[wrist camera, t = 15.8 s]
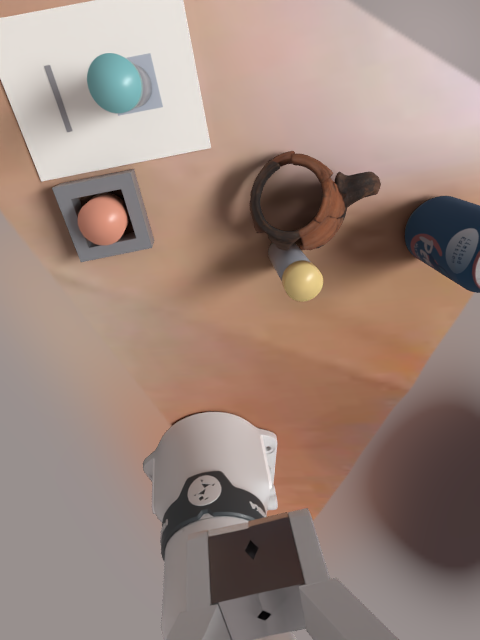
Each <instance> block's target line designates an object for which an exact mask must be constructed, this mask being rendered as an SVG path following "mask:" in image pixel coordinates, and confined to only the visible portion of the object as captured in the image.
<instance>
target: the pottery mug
mask: <svg viewBox="0 0 480 640" xmlns="http://www.w3.org/2000/svg"><path fill="white" fill-rule="evenodd" d="M286 164H293V165H299V166H303V167H306V168H308V169H309V170H311V171H312V172H313V173H314V174H315V175H316V176H317V178H318V179H319V181H320V183H321V186H322V192H323V195H322V203H321V207H320V209H319V211H318V213H317V215H316V216H315V218H314V219H313V220H312V221H311V222H310V223H309V224H307V225H306V226H304V227H302V228H300V229H298V230H295V231H282V230H278V229H276V228H274V227H272V226H271V225H270V224H268V222H267V221H266V220H265V218H264V216H263V214H262V211H261V206H260V197H261V193H262V190H263V187H264V185H265V183H266V181H267V180H268V178H269V177H270V176H271V175H272V174H273V173H274V172H275V171H277V170H278V169H279V168H280V167H281V166H284V165H286ZM332 174H333V172H332V171H331V170H330V169H329V168H328V167H327V166H325V165H324V164H323V163H321V162H320V161H318V160H316V159H314V158H312V157H310V156H308V155H304V154H295V152H294V151H290V152H286V153H283V154H280V155H278V156H277V157H275V158H274V159H273V160H270V161H269V162H268V163H267V164H266V165H265V166H264V167H263V169H262V170H261V171H260V173H259V174H258V176H257V178H256V180H255V182H254V184H253V187H252V191H251V201H250V211H251V215H252V219H253V223H254V227H255V229H256V231H257V233H259V232H266V233H267V234H268V236H269V239H270V241H271V242H272V243H273V244H275V245H276V247H277V248H278V249H281V250H289V247H290V246H292V245H293V243H294V242H296V241H297V240H298V239H299V238H301V241H302V243H301V245H300V246H299V248H300V250H312V249H315V248H319V247H321V246H323V245H324V244H326V243H327V242H328V241H329V240H330V239H332V237H333V236H334V235H335V233H336V232H337V231H338V229H339V228H340V226H341V224H342V222H343V220H344V218H345V214H346V210H347V207H349V206H350V205H351V204H353V203H355V202H356V201H358V200H360V199H362V198H364V197H368V196H371V195H376V194H377V193H378V191H379V189H380V185H381V183H380V180H379V177H378V176H376V175H375V174H374V173H373V172H364V173H359V174H355V175H350V176H347V175H344V174H342V173H341V172H338V173H337V175H336V178H335V182H333V181H332V180H331V178H330V177H331V176H332Z"/></svg>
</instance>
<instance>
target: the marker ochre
mask: <svg viewBox="0 0 480 640" xmlns="http://www.w3.org/2000/svg"><path fill="white" fill-rule="evenodd" d="M268 256H269V259H270V261H271V262H272V264H273V266H274V268H275V270H276V272H277V273H278V275H279V277H280V279H281V281H282V284H283V287H284V288H285V290H286V292H287V294H288V295H289V297H291V298H292V299H293V300H296V301H301V302H303V301H308V300H311V299H313V298H314V297H316V296H317V295H318V294H319V292H320V291H321V289H322V286H323V277H322V274H321V273H320V271H319V270H318V269H317V268H316V266H315V265H314V264H312V263H311V262H310V261H309V260H308V258H307V257H306V256H305V255H304V253H303V252H302V251H301V250H300V248H299V247H298V246H297V245H296V243H295V242H294V243H293V245H292V246H290V247H289V250H281V249H278V248H277V247H276V245H275V244H273V243H271V245H270V247H269V249H268Z"/></svg>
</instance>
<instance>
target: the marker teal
mask: <svg viewBox="0 0 480 640" xmlns="http://www.w3.org/2000/svg"><path fill="white" fill-rule="evenodd" d="M87 84H88V89H89V91H90V94H91V96H92V97H93V99H94V100H95V102H96V103H97V104H98V105H99V106H100V107H101V108H103V109H104V110H106V111H108V112H111V113H124V112H128V111H130V110H132V109H134V108H137V107H140V106H143V105H144V104H146V103H147V102H148V100H149V99H150V97H151V94H152V83H151V79H150V77H149V75H148V74H147V72H146V71H145V70H144V69H143V68H142V67H140V66H138V65H136V64H134V63H132V62H131V61H129V60H128V59H126V58H125V57H123V56H120V55H118V54H114V53H105V54H102V55H99V56H98V57H96V58H95V59H94V60H93V61H92V63H91V64H90V66H89V69H88V73H87Z"/></svg>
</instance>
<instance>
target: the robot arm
mask: <svg viewBox="0 0 480 640" xmlns="http://www.w3.org/2000/svg"><path fill="white" fill-rule="evenodd" d="M268 446H269V447H268ZM276 451H277V437H276V435H275V434H274V433H273V432H270V431H267V430H263V429H258V428H256V427H255V426H253V425H252V424H250V423H249V422H248V421H246V420H245V419H243V418H241V417H239V416H236V415H233V414H229V413H223V412H205V413H199V414H195V415H192V416H189V417H186V418H184V419H182V420H180V421H178V422H177V423H175V424H174V425H173V426H171V427H170V428H169V429H168V430H167V431H166V433H165V434H164V435H163V437H162V439H161V440H160V442H159V445H158V447H157V449H156V450H155V451H154V452H153V453H151V454H150V455H149V456H148V457H147V458H146V459H145V460H144V462H143V470H144V472H145V473H146V474H147V476H148V477H149V478H150V480H151V481H152V483H153V485H152V511H153V513H154V514H156V516H157V517H158V519H159V520H160V521H161V522H162V530H161V540H160V542H161V554H162V558H163V560H164V562H165V563H164V583H163V600H162V618H161V619H162V620H161V630H162V634H163V639H164V640H297V639H296V638H295V636H294V634H293V632H292V631H297V630H302V629H306V630H307V632H308V633H309V635H310V636H311V637H312V638H313V640H399V639H398V638H397V637H396V636H395V635H394V634H393V633H392V632H391V631H390V630H389V629H388V628H387V627H386V626H385V625H384V624H383V623H382V622H381V621H380V620H379V619H378V618H377V617H376V616H375V615H374V614H372V612H371V611H370V610H369V609H368V608H367V607H366V606H365V605H364V604H363V603H362V602H360V600H359V599H358V598H357V597H356V596H354V595H353V594H352V592H351V591H349V589H347V588H346V587H345V586H344V585H343V584H342V583H341V582H340V581H339V580H338V579H337V578H333V579H330V577H329V573H328V570H327V567H326V563H325V560H324V557H323V553H322V550H321V547H320V544H319V540H318V537H317V534H316V531H315V527H314V524H313V521H312V517H311V514H310V512H309V510H308V508H305V509H301V510H296V511H292V512H288V514H287V512H285V513H281V514H277V515H272V516H268V517H267V516H266V515H267V510H276V509H277V497H276V493H275V487H274V484H273V483H274V472H275V461H276Z"/></svg>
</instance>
